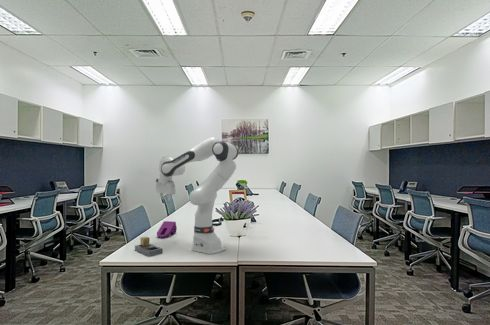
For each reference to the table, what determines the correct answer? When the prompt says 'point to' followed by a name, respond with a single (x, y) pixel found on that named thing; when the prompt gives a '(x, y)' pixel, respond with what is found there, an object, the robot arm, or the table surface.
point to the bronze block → (144, 241)
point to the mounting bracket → (167, 229)
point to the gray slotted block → (149, 250)
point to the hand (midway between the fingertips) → (165, 199)
